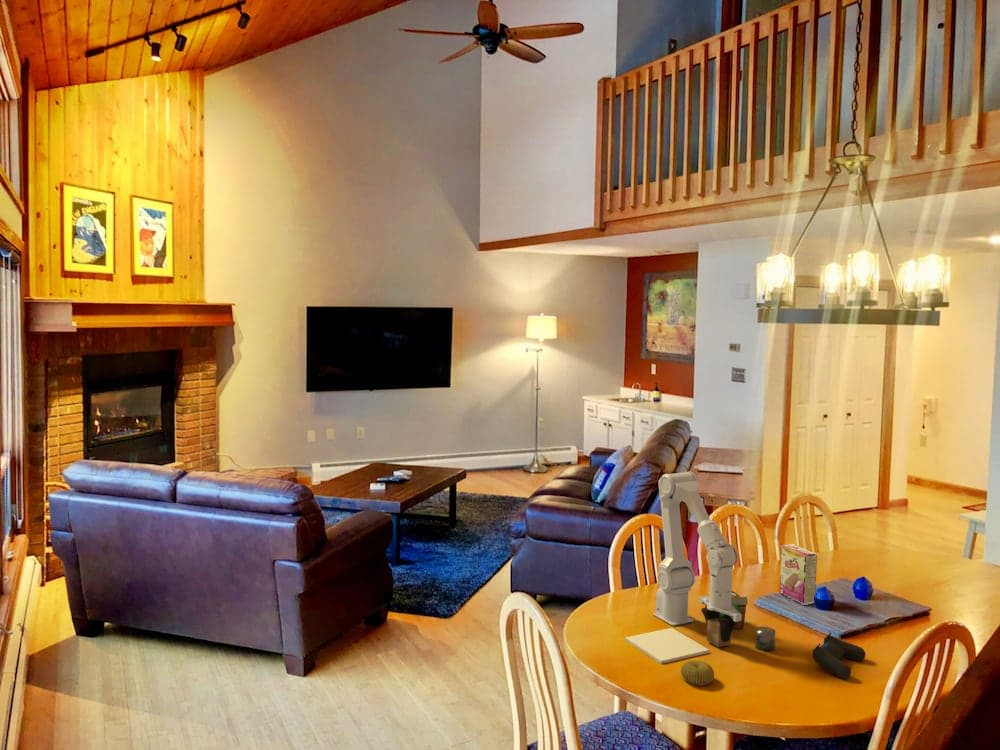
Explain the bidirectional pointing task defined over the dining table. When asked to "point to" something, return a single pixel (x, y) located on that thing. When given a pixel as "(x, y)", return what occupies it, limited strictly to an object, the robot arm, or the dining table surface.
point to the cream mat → (666, 645)
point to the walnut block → (715, 633)
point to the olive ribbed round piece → (697, 672)
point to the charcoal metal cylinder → (765, 639)
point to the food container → (738, 609)
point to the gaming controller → (837, 655)
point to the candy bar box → (798, 573)
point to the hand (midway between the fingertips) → (718, 637)
